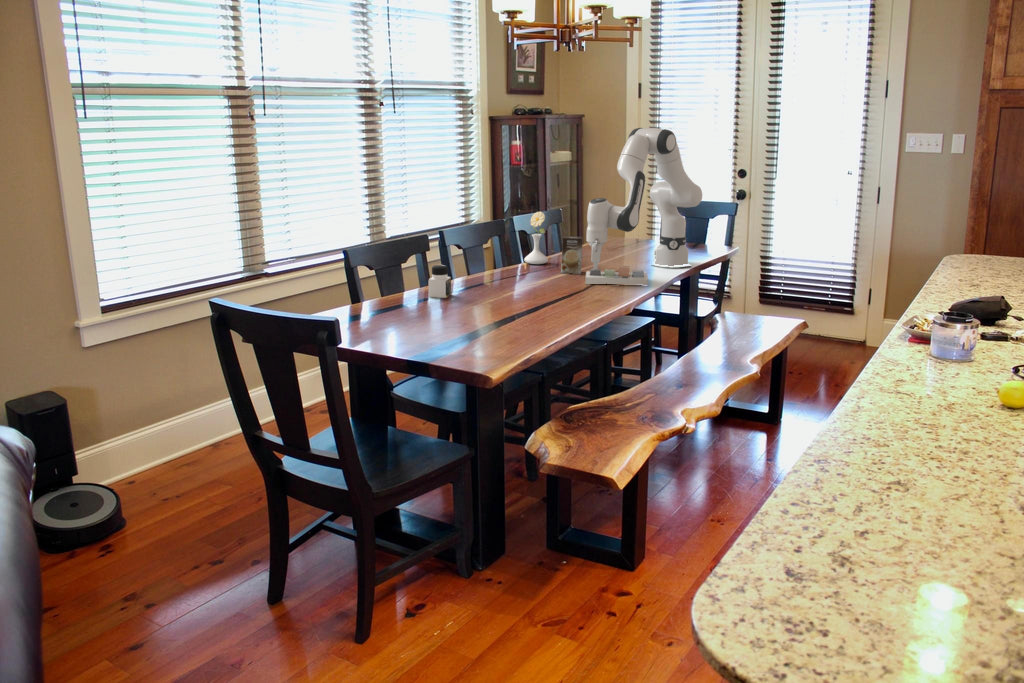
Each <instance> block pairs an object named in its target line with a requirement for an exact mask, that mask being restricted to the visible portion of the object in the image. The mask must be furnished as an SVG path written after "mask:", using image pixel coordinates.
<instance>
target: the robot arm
mask: <svg viewBox="0 0 1024 683" xmlns="http://www.w3.org/2000/svg"><path fill="white" fill-rule="evenodd" d="M648 155H654V159H655V163H656V168H657V172H658V175H659V177H660V178H661V179H662V180H664V181H659V182H654V183H653V184H652V186H651V187H650V189H649V198H650V200H651V202H652V203H653V204H654V205H655V206H656V207H657V210H658V211H659V214H660V218H661V222H660V223H661V224H660V225H661V226H660V227H661V229H660V230H661V232H660V233H661V234H660V236H659V245H658V246H657V247H656V249H655V250H654V260H655V259H656V261H655V264H659V265H668V266H674V265H683V264H688V263H689V248H688V247H687V246H686V242H687V237H686V227H687V221H686V218H685V217H684V216H683V215H682V214H680V212H679V211H678V208H693V207H697V206H699V205H700V203H701V202H702V200H703V192H702V189H701V186H699V185H697V184H696V183H694V181H693V180H692V179H691V178H690V177H689V175H688V174H687V172H686V171H685V168H684V166H683V161H682V156H681V153H680V149H679V145H678V142H677V137H676V135H675V133H674V132H673V131H671V130H669V129H666V128H665V129H662V128H660V127H659V128H657V127H638V128H634V129H633V130H631V132H630V133H629V134H628V138H627V141H626V142H625V144H624V146H623V147H622V150H621V153H620V156H619V158H618V160H617V165H616V170H617V173H618V175H619V176H620V177H621V179H623V180H624V181H626V182H627V183H629V186H630V187H629V188H630V190H629V194H628V199H627V203H626V205H625V206H618V205H614V204H612V203H610V202H609V201H608V199H607V198H603V197H600V198H599V197H598V198H594V199H593V198H592V199H591V200H590V201H589V203H588V207H587V211H586V212H587V214H586V221H587V227H586V236H585V237H586V239H585V240H586V242H588V245H589V246H590V248H591V257H590V259H591V260H590V261H591V263H593V266H592V269H593V270H598V269H599V267H598V266H599V263H600V262H601V256H602V254H601V253H602V247H604V246H605V244H606V243H608V229H614V230H619V231H623V232H626V233H629V232H632V231H633V230H635V229H636V228H637V226H638V225H639V222H640V212H641V210H640V209H641V205H642V201H643V200H642V199H643V196H644V195H643V194H644V190H645V185H646V175H645V174H644V167H645V164H646V162H647V157H648Z"/></svg>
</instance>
